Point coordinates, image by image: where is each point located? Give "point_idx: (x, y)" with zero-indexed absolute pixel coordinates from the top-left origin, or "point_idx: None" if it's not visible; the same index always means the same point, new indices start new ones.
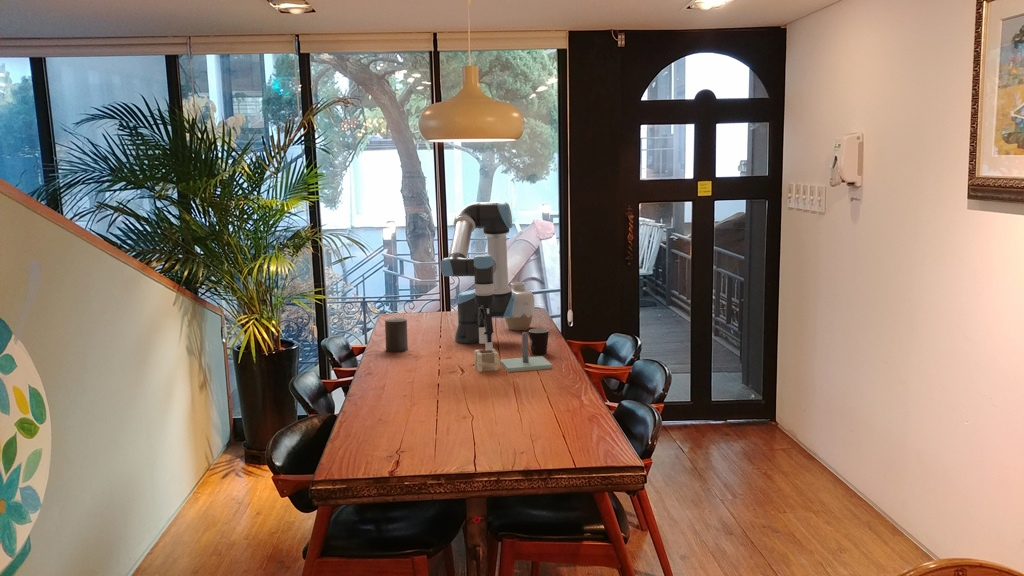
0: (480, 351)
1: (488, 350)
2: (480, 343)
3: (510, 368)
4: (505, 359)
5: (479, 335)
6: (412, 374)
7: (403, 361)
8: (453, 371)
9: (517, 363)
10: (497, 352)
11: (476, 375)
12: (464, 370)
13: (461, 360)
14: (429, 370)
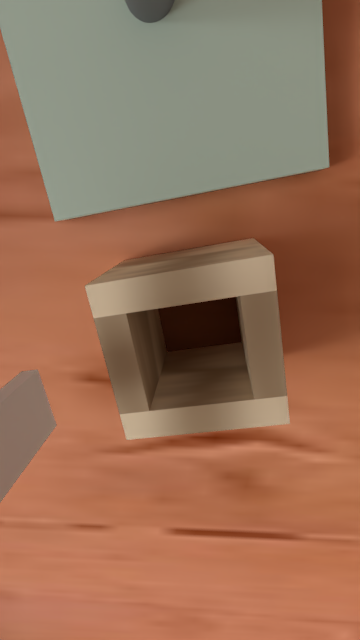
0: (147, 394)
1: (131, 333)
2: (54, 419)
3: (326, 145)
4: (58, 178)
5: (11, 484)
6: (248, 621)
7: (28, 635)
8: (230, 477)
9: (192, 76)
10: (252, 258)
11: (348, 374)
12: None
13: None
14: (191, 565)
